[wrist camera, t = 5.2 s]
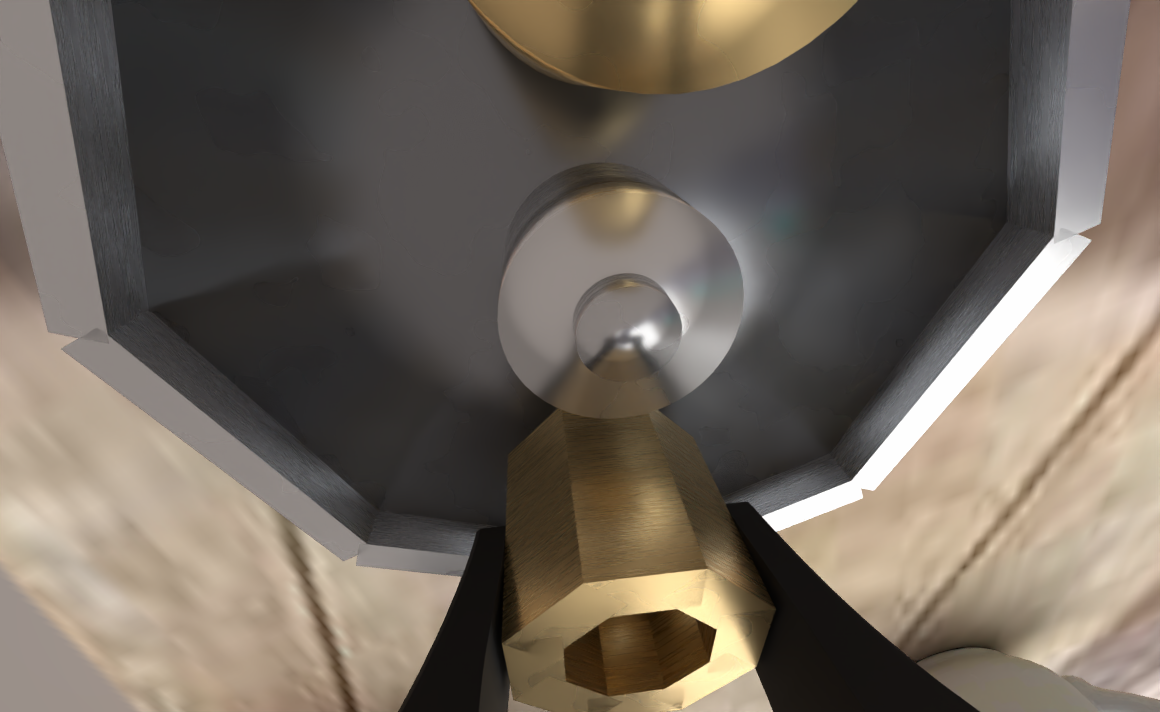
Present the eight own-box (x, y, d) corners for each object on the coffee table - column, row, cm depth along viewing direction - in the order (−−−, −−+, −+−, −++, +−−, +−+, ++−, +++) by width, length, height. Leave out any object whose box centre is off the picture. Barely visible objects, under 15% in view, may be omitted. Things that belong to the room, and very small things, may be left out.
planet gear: (699, 392, 12) (792, 558, 8) (681, 523, 15) (745, 700, 11) (501, 410, 12) (491, 593, 8) (520, 541, 15) (520, 732, 10)
